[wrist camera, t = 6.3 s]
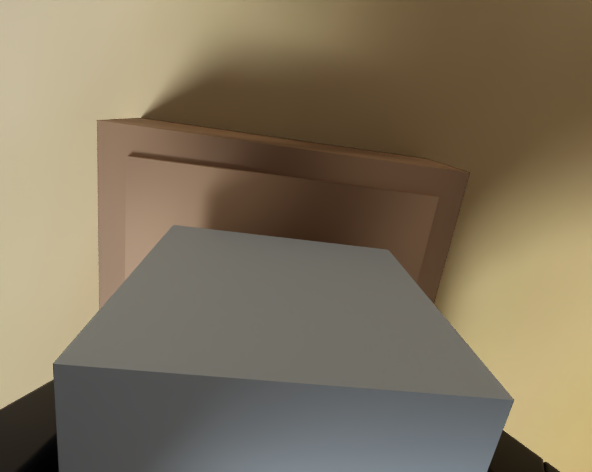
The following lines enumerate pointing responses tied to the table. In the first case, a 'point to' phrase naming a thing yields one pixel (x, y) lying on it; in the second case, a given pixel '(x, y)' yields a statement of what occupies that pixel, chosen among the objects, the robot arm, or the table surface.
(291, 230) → the pedestal
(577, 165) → the table surface
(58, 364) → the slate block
